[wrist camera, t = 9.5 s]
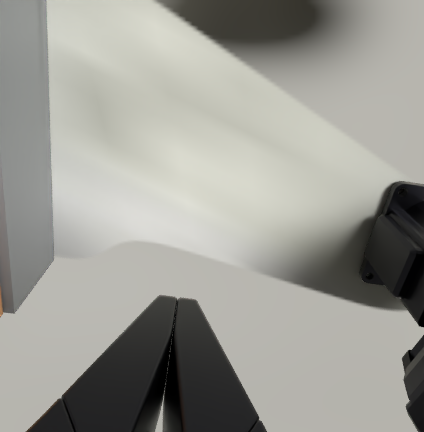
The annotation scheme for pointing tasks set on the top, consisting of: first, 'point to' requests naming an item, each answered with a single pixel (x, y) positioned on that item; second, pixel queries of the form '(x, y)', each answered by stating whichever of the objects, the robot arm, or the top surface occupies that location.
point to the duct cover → (0, 309)
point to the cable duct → (24, 151)
